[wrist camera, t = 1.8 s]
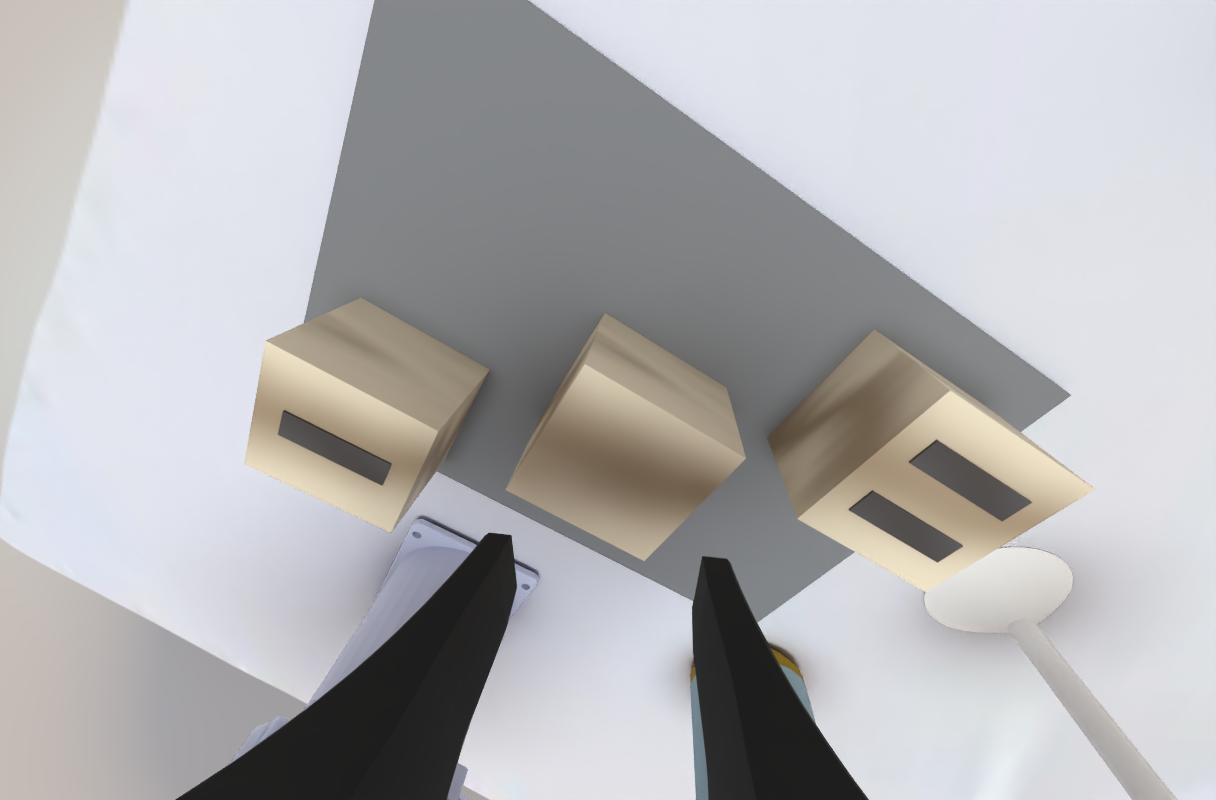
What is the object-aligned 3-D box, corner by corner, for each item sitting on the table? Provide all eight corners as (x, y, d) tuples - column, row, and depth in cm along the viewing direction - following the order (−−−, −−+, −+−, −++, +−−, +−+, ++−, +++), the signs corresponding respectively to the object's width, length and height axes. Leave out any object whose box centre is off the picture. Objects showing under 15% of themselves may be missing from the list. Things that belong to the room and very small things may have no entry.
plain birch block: (648, 478, 21) (644, 561, 17) (539, 418, 20) (505, 489, 16) (726, 387, 18) (746, 458, 14) (604, 312, 17) (584, 363, 13)
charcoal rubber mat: (747, 622, 26) (748, 628, 26) (294, 391, 21) (288, 395, 21) (1062, 390, 17) (1071, 395, 17) (402, -89, 13) (395, -96, 12)
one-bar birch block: (444, 459, 22) (389, 534, 17) (331, 401, 21) (242, 465, 17) (489, 369, 19) (437, 432, 15) (361, 297, 18) (263, 341, 14)
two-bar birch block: (869, 499, 20) (926, 594, 16) (766, 437, 19) (797, 520, 15) (987, 406, 17) (1097, 491, 13) (874, 329, 16) (952, 391, 12)
